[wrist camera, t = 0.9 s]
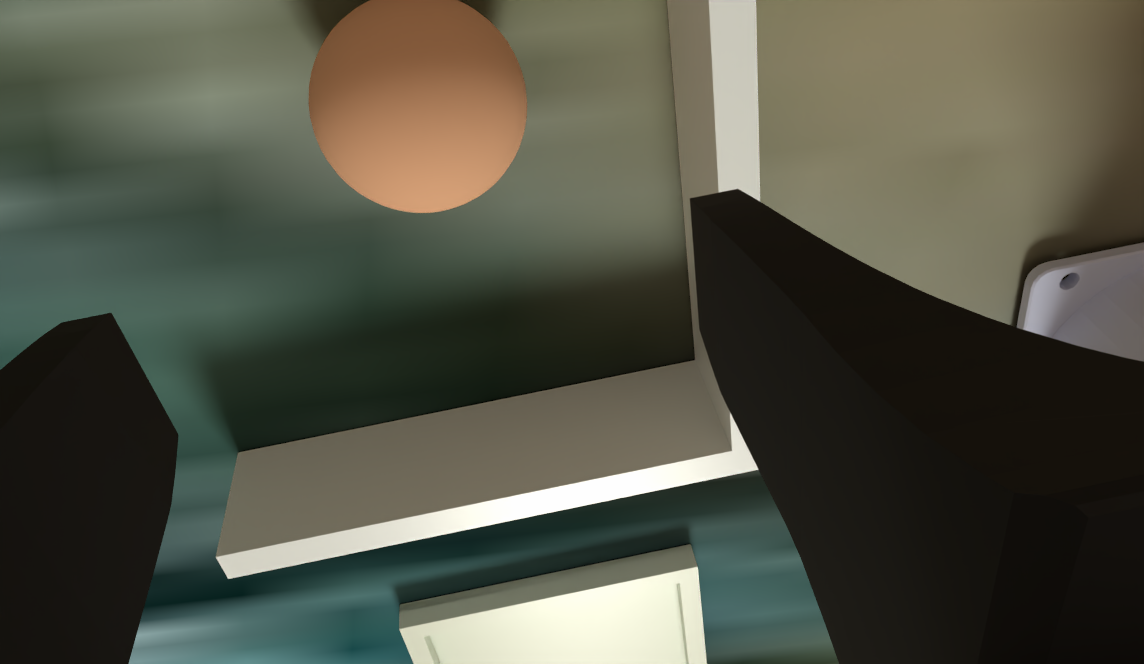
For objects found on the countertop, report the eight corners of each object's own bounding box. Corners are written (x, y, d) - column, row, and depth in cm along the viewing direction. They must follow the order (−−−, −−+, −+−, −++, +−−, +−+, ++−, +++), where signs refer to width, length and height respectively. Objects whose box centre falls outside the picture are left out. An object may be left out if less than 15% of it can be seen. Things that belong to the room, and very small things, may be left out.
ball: (496, -53, 18) (516, 10, 15) (531, 137, 20) (554, 228, 17) (290, -15, 18) (263, 59, 14) (350, 172, 20) (339, 271, 17)
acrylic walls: (692, -242, 16) (751, -221, 14) (725, 376, 25) (766, 468, 22) (-44, -108, 16) (-140, -57, 13) (248, 474, 25) (228, 578, 22)
